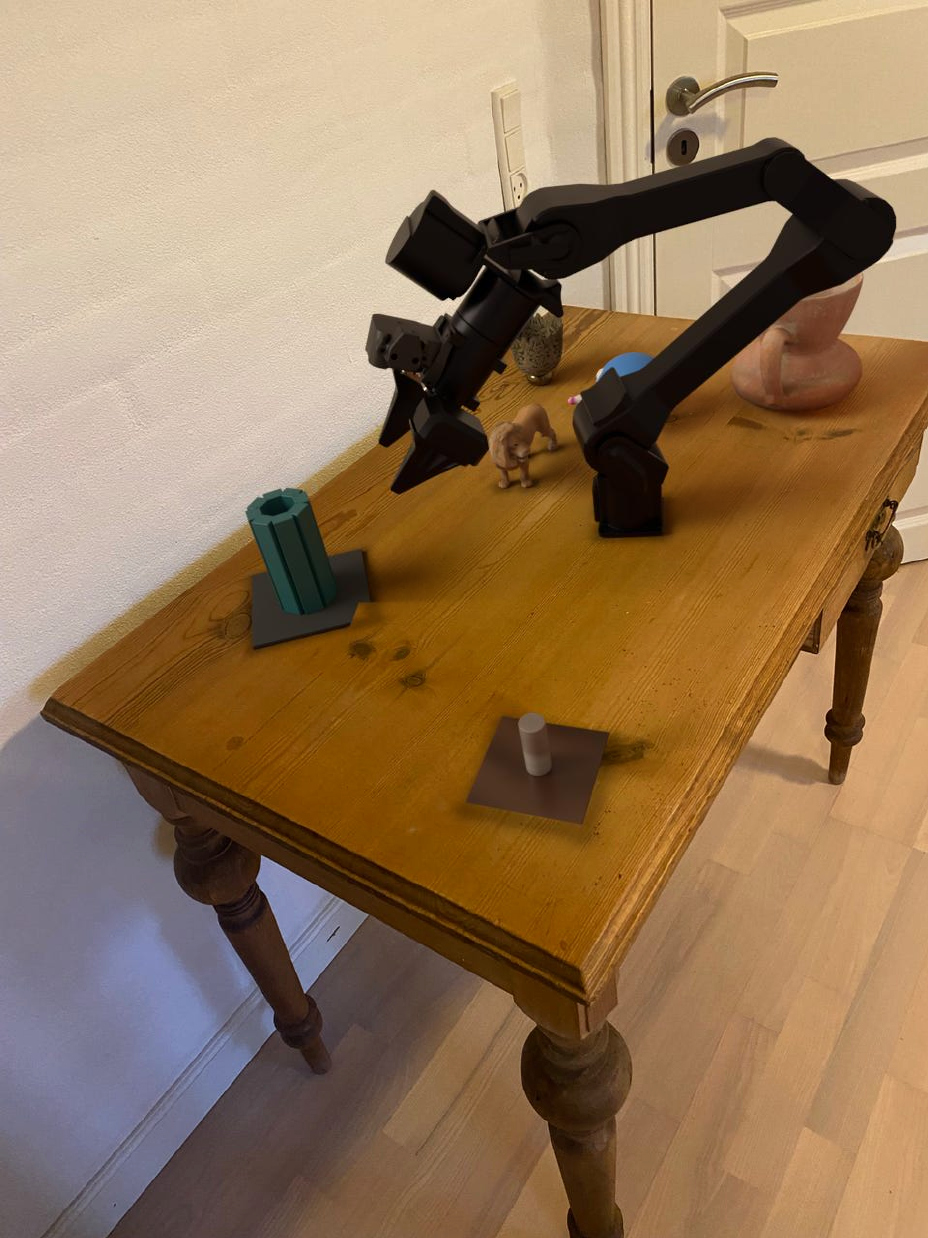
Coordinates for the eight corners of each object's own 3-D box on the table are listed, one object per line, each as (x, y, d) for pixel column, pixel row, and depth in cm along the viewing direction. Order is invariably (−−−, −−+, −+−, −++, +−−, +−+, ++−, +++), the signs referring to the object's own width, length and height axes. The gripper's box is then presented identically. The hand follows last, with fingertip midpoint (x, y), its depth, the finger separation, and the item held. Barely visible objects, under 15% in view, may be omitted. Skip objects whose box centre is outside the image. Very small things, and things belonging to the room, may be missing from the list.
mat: (362, 551, 96) (361, 548, 96) (374, 619, 87) (373, 616, 87) (253, 577, 95) (252, 575, 95) (253, 649, 86) (252, 646, 86)
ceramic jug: (764, 356, 115) (771, 244, 106) (880, 373, 107) (898, 253, 98) (699, 421, 105) (701, 304, 96) (822, 445, 97) (836, 319, 88)
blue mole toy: (563, 410, 113) (557, 347, 107) (656, 393, 112) (655, 329, 107) (579, 457, 103) (573, 391, 98) (681, 439, 103) (681, 371, 97)
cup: (570, 389, 116) (564, 331, 111) (514, 397, 117) (506, 339, 112) (566, 365, 122) (560, 308, 117) (512, 372, 123) (505, 316, 118)
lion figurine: (534, 507, 97) (524, 434, 91) (487, 505, 99) (475, 433, 93) (563, 438, 107) (556, 368, 102) (520, 437, 109) (511, 369, 103)
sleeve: (343, 601, 89) (314, 510, 82) (286, 622, 88) (251, 531, 81) (330, 570, 94) (301, 481, 87) (275, 589, 93) (241, 500, 86)
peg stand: (503, 723, 74) (493, 672, 70) (610, 740, 70) (606, 687, 67) (467, 810, 68) (453, 759, 64) (582, 833, 64) (576, 780, 60)
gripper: (392, 246, 81) (307, 386, 88) (424, 318, 67) (320, 478, 74) (488, 310, 87) (401, 437, 93) (536, 390, 72) (430, 533, 79)
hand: (388, 467), depth 85 cm, fingers open, 9 cm apart
